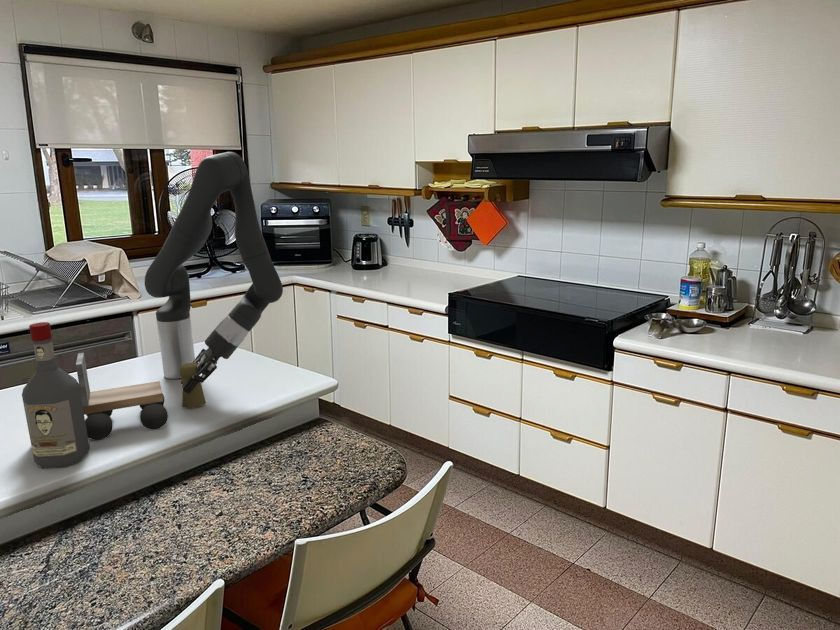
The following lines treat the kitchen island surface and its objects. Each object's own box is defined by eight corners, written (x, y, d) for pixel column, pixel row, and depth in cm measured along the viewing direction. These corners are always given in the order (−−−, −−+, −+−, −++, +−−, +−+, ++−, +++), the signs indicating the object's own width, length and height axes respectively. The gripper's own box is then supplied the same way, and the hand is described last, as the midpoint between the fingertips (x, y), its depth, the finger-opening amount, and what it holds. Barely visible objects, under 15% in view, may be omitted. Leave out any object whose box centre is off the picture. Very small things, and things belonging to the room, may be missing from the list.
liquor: (52, 450, 143) (28, 319, 135) (94, 448, 143) (72, 318, 136) (30, 470, 134) (3, 331, 127) (75, 467, 134) (51, 329, 127)
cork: (209, 399, 170) (205, 360, 168) (200, 408, 164) (195, 367, 162) (188, 399, 171) (183, 360, 168) (177, 408, 165) (172, 367, 162)
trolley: (87, 421, 159) (76, 351, 154) (165, 407, 166) (156, 340, 161) (85, 442, 146) (72, 367, 142) (169, 427, 153) (159, 355, 149)
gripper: (212, 322, 172) (169, 372, 170) (219, 334, 160) (174, 388, 158) (234, 338, 176) (193, 387, 174) (243, 352, 163) (199, 405, 161)
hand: (184, 388), depth 166 cm, fingers closed on cork, 4 cm apart
